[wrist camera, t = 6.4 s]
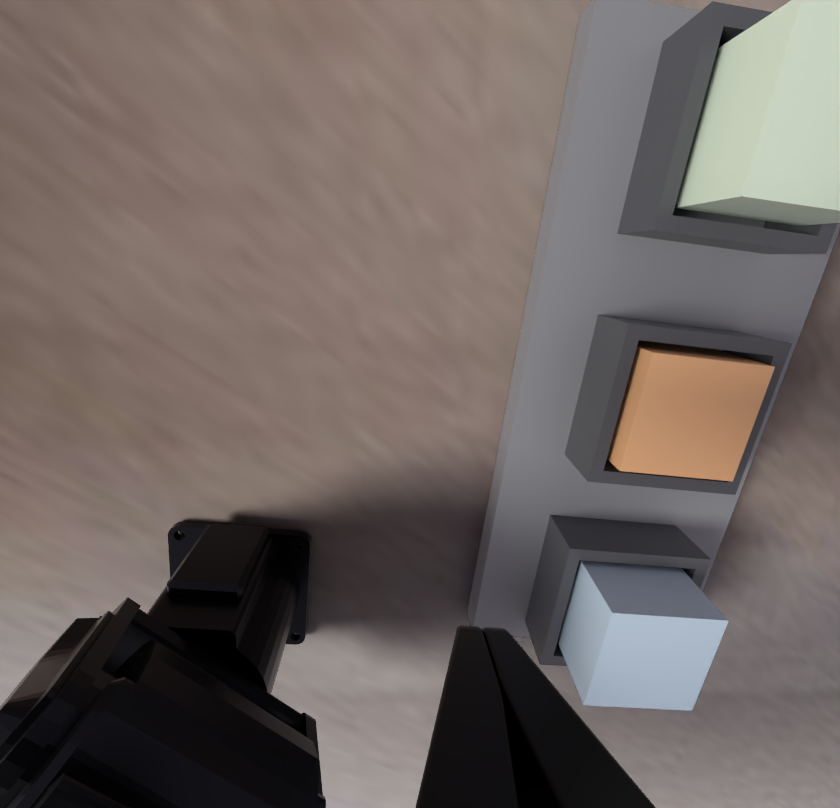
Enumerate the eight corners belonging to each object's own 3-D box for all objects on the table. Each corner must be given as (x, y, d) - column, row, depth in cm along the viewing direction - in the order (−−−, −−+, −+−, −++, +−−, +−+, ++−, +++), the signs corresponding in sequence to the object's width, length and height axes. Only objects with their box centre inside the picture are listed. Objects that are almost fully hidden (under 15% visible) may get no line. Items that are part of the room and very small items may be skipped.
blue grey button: (651, 647, 21) (691, 710, 18) (557, 641, 20) (583, 705, 17) (679, 566, 19) (728, 620, 16) (579, 559, 19) (612, 612, 16)
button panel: (665, 624, 25) (714, 691, 21) (467, 611, 24) (480, 678, 20) (865, 65, 17) (1001, 9, 13) (579, 15, 16) (636, -60, 12)
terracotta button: (684, 449, 20) (732, 481, 17) (587, 439, 19) (619, 470, 16) (716, 349, 18) (775, 366, 15) (612, 337, 18) (653, 352, 15)
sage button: (799, 225, 15) (893, 218, 12) (675, 207, 15) (740, 196, 12) (854, 71, 14) (973, 23, 11) (718, 48, 13) (804, -9, 11)
